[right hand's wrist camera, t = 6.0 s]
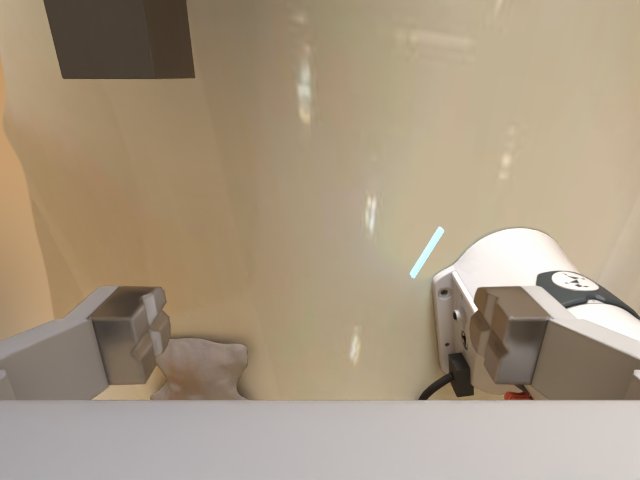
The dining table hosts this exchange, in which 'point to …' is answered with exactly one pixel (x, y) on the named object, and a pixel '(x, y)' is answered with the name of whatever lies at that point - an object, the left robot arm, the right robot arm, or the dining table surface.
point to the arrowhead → (201, 370)
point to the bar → (121, 38)
